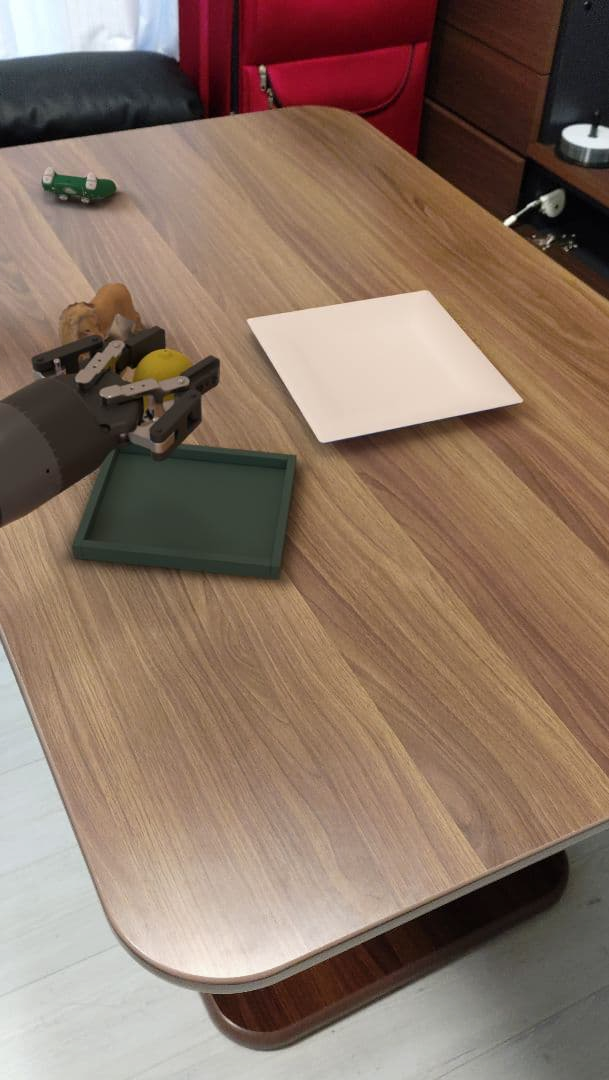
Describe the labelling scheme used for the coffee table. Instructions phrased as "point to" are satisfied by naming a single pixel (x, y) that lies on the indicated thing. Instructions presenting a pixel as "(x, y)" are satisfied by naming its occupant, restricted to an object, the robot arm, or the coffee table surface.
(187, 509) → the tray
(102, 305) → the lion figurine
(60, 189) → the green piece
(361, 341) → the plate
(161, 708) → the coffee table surface
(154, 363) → the lemon
